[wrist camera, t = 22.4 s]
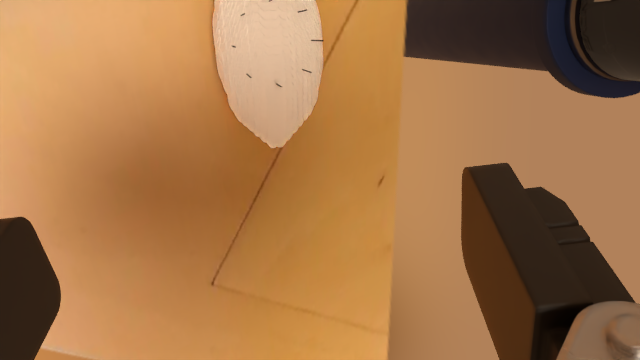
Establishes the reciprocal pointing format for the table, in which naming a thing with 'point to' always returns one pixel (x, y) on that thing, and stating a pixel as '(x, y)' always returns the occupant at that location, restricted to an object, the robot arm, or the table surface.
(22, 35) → the table surface
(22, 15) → the table surface
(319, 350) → the table surface
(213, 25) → the pincushion
